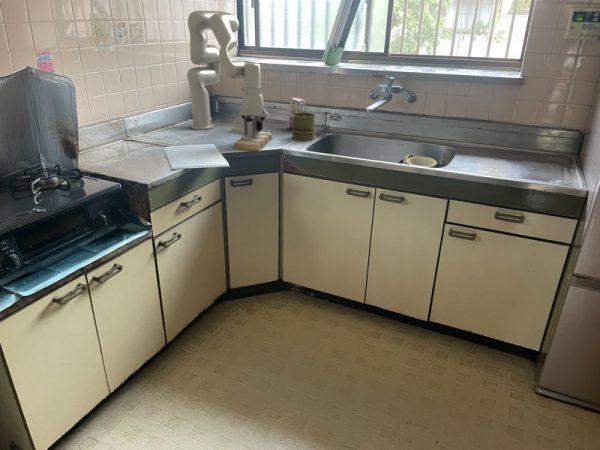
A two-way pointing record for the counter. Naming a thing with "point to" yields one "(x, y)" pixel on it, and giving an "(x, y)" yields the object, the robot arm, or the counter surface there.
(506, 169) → the counter surface
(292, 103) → the candy bar box
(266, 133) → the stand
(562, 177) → the counter surface
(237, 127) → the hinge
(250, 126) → the housing
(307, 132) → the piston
